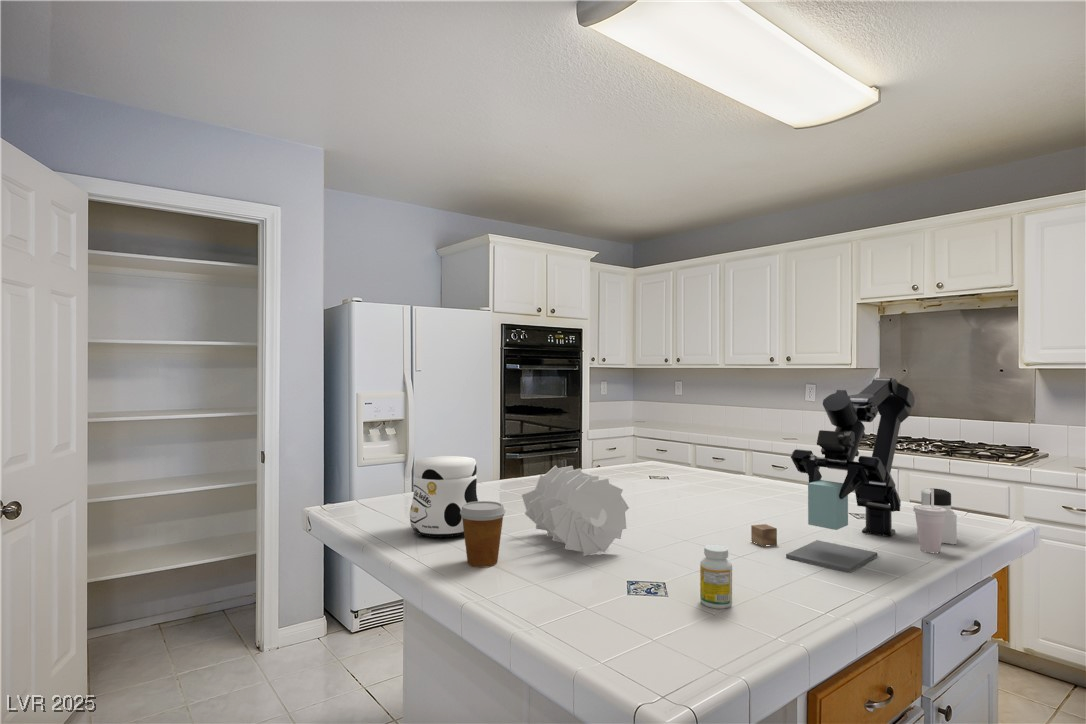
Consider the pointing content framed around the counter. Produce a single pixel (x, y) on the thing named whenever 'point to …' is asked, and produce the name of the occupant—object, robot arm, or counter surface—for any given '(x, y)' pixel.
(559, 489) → the spiral staircase
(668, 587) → the counter surface
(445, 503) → the milk container
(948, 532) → the medicine bottle
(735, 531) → the counter surface
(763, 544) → the block
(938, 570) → the counter surface
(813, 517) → the pale teal box
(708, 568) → the supplement bottle
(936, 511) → the smoothie
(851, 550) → the mat
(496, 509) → the disposable coffee cup
